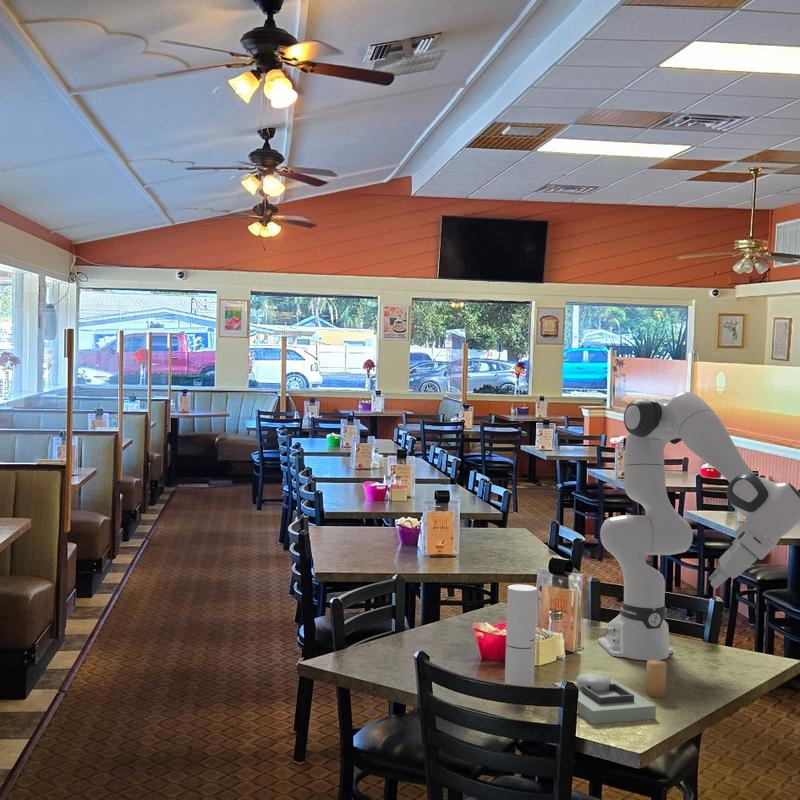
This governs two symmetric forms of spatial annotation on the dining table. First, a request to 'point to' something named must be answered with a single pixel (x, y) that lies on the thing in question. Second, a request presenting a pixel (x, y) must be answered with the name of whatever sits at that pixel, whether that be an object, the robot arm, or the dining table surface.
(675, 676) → the dining table surface
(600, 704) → the stepped grey tray
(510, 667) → the cylindrical container
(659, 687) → the orange cylinder
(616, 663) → the dining table surface
